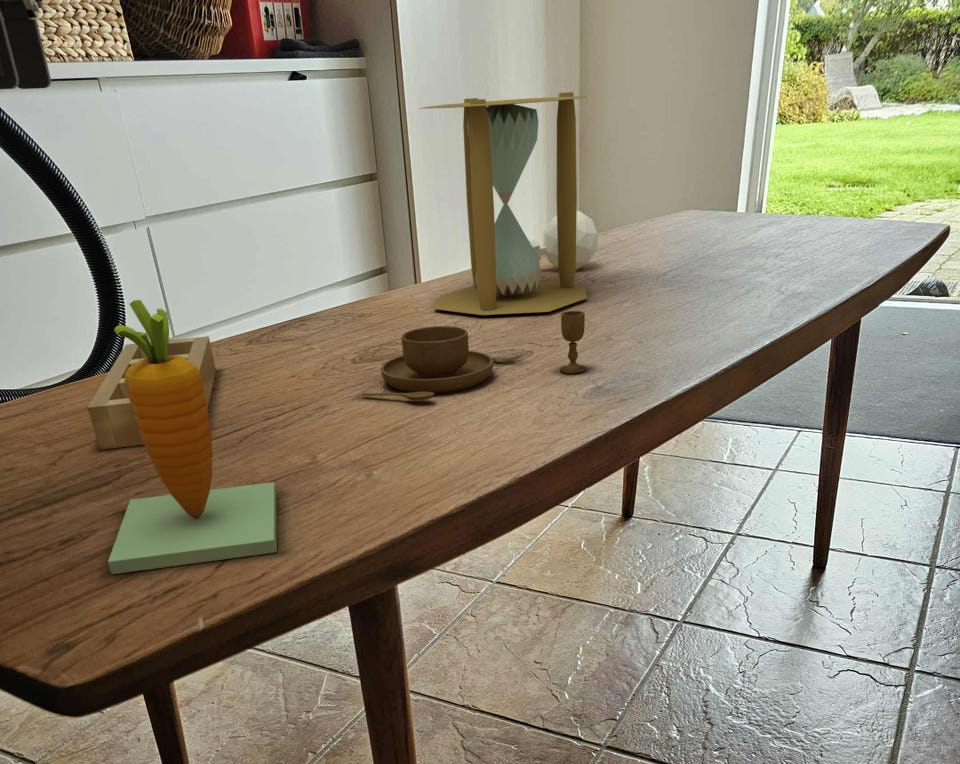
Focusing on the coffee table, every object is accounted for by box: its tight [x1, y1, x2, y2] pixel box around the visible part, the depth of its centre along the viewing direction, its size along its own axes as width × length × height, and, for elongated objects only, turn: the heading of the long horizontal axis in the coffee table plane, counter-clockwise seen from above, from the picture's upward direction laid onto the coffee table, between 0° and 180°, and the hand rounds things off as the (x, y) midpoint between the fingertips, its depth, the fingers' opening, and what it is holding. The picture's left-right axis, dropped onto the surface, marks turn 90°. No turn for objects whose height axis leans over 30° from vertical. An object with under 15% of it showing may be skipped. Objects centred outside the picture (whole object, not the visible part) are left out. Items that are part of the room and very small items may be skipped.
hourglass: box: [417, 91, 588, 316], centre depth 122 cm, size 24×22×25 cm
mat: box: [107, 481, 278, 575], centre depth 65 cm, size 11×11×1 cm
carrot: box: [114, 299, 213, 519], centre depth 61 cm, size 5×5×15 cm
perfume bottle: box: [529, 210, 599, 271], centre depth 145 cm, size 9×9×12 cm
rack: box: [87, 335, 217, 451], centre depth 92 cm, size 9×24×4 cm, turn 11°
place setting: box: [360, 310, 587, 401], centre depth 93 cm, size 18×20×6 cm
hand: (18, 88), depth 55 cm, fingers open, 8 cm apart
